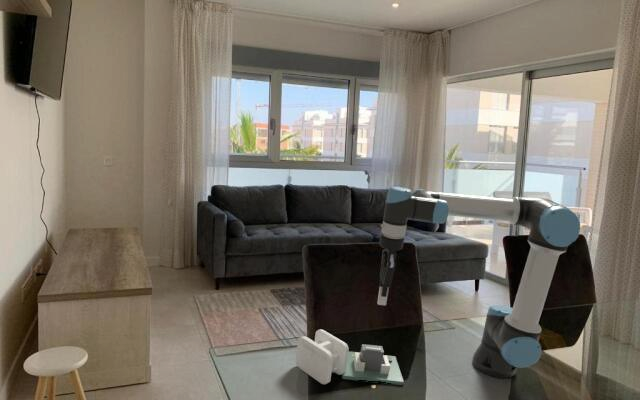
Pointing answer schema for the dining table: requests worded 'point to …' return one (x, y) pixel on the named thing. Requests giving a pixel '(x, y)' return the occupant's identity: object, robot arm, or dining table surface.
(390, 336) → the dining table surface
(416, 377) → the dining table surface
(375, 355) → the plug
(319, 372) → the cable organizer
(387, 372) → the board
